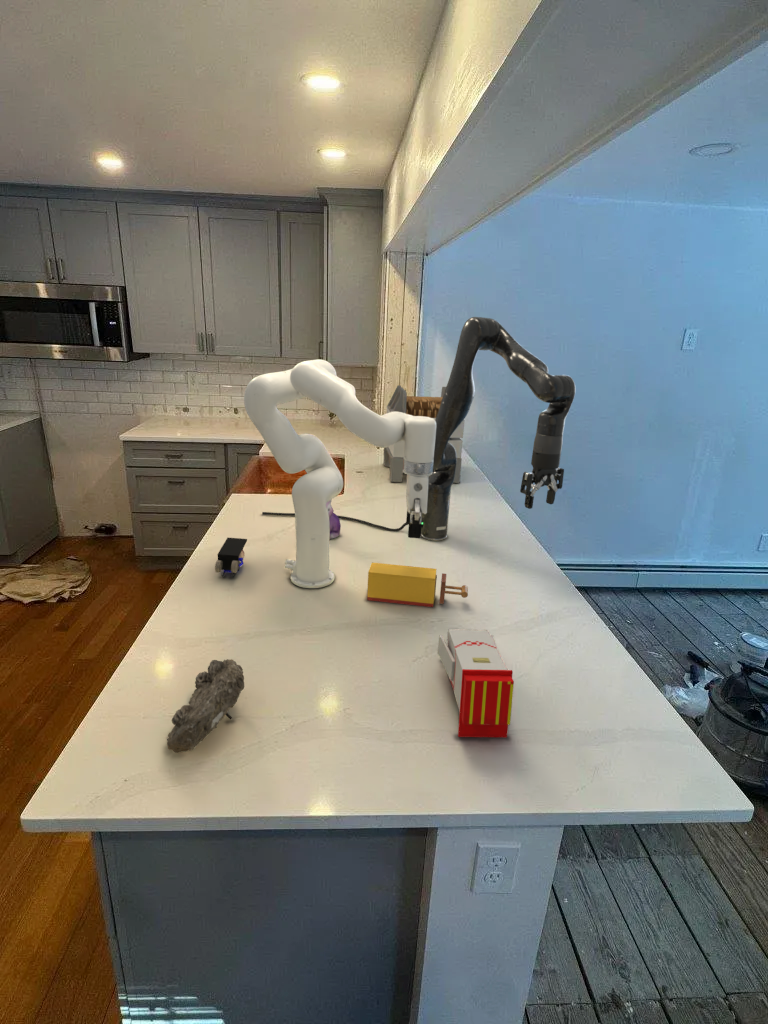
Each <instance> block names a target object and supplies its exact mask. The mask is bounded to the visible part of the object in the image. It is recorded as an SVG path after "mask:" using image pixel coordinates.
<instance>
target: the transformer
mask: <svg viewBox="0 0 768 1024" xmlns="http://www.w3.org/2000/svg"><path fill="white" fill-rule="evenodd" d="M445 389H446V386H442V387H441V392H440V393H441V394H440V396H415V395H414V396H413V395H412V396H411V395H407V394H408V393H407V390H406V389H404V388H403V387H402V385H399V384H398V385H397V386H396V388H395V390H394V392H393V394H392V395H391V398H390V400H389V402H388V404H387V405H386V413H385V414H387V413H390V412H394V411H396V412H402V413H405V414H409V415H412V416H425V417H430V418H433V419H434V420H435V419H436V416H437V414H438V411H439V408H440V405H441V401H442V398H443V395H444V392H445ZM464 429H465V419H464V420H463V421H462V423H461V424H460V425H459V426H458V427H457V429H456V430H455V431H454V432H453V434H452V435H451V437H450V439H449V441H448V443H450V444H452V445H453V447H454V448H455V450H456V455H457V462H456V470H455V477H454V482H453V484H455V483H456V484H459V483H461V472H462V461H463V460H462V453H463V442H464V441H463V440H462V439H463V438H464V431H465V430H464ZM404 443H405V441H400V442H397V443H395V444H393V445H391V446H389V447H385V448H383V466H384V467H388V468H389V475H388V476H389V477H388V478H389V480H390V482H391V483H402V482H403V475H404V473H403V459H404Z"/></svg>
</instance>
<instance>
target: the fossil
mask: <svg viewBox="0 0 768 1024" xmlns="http://www.w3.org/2000/svg"><path fill="white" fill-rule="evenodd" d="M243 670H244V669H243V667H242V665H240V664H237V662H236V661H235V660H234V659H232V658H231V659H227V658H226V659H224V660H223V661H222V660H217V659H212V660H211V661H210V663H209V665H208V666H207V671H201V672H199V673H198V674H197V675H196V676H195V680H194V684H195V685H194V687H195V689H194V690H193V693H192V694H191V697H190V698H189V700H188V704H184V705H182V706H181V707H180V709H177V710H176V711H175V713H174V715H173V716H172V718H171V723H172V724H173V727H172V730H171V731H170V732H168V734H167V738H166V741H167V742H166V745H167V749H168V750H169V751H173V752H174V753H176V754H178V753H182V752H188V751H189V752H192V751H193V750H195V748H196V747H197V746H199V744H200V743H201V742H203V741H204V740H205V739H206V738H207V737H208V736H209V735H210V734H211V733H212V732H214V730H215V729H217V727H218V726H219V724H220V722H221V721H222V720H223V719H224V718H225V716H226V717H227V719H229V720H233V717H232V715H230V714H229V710H230V709H231V708H234V706H235V704H236V703H237V702H238V699H239V697H240V695H241V693H242V691H243V690H245V689H244V688H245V675H244V671H243Z"/></svg>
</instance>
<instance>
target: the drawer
mask: <svg viewBox="0 0 768 1024" xmlns="http://www.w3.org/2000/svg"><path fill="white" fill-rule="evenodd" d="M437 577H438V574H436V579H435V590H434V602H435V600H436V590H437ZM446 589H449V590H446ZM453 590H458V591H453ZM439 591H440V592H439V604H440V605H444V604H445V597H446V596H445V595H455V596H456V595H457V596H461V597H462V598H463V599H464V598H467V597H468V596H469V587H468V586H467V585H465V584H464V585H461V586H454V585H447V573H441V581H440V590H439Z"/></svg>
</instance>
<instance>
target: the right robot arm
mask: <svg viewBox="0 0 768 1024" xmlns="http://www.w3.org/2000/svg"><path fill="white" fill-rule="evenodd" d="M479 351H490V352H493V353H494V354H497V355H499V356H500V357H501V358H503V360H504V361H505V363H506V365H507V367H508V369H509V370H510V371H511V372H512V373H513V375H515V376H516V377H517V378H518V379H520V380H521V381H522V382H524V383H525V384H526V385H527V386H528V388H529V389H530V390H531V393H533V395H534V396H535V397H536V398H537V399H538V400H540V401H541V402H544V403H546V404H548V407H547V408H546V409H545V410H543V411H541V412H540V413H539V414H538V419H537V424H536V432H535V437H534V440H533V447H532V452H531V453H532V455H531V463H530V464H531V466H532V471H531V472H527V471H524V472H522V478H521V484H520V489H519V490H520V491H519V492H520V493H521V494H523V495H525V497H524V507H525V508H526V509H529V510H531V509H533V506H534V499H535V494H536V492H537V491H539V490H540V489H541V487H545V486H546V487H547V493H546V498H545V503H546V504H548V505H553V504H554V503H555V499H556V493H557V492H558V490H561V489H562V488H563V482H564V475H565V468H562V467H560V463H561V457H562V450H563V443H564V441H563V439H564V430H565V426H566V425H565V424H566V419H567V417H568V414H569V412H570V409H571V407H572V404H573V403H574V399H575V396H576V390H577V389H576V388H577V387H576V383H575V381H574V378H572V376H570V375H567V374H550V373H549V367H548V365H547V364H546V363H545V362H544V361H543V360H541V359H539V357H537V356H536V355H534V354H533V353H532V352H530V351H528V350H527V349H526V348H525V347H523V346H522V345H521V344H520V343H519V342H518V341H517V340H516V339H515V338H514V337H513V336H512V335H511V334H510V333H509V332H508V331H507V330H506V329H505V327H504V326H503V325H502V324H501V323H500V322H499V321H498V320H496V319H494V318H490V317H482V316H472V317H470V318H467V320H466V321H465V322H464V324H463V326H462V329H461V331H460V335H459V339H458V343H457V348H456V353H455V357H454V362H453V365H452V368H451V371H450V375H449V378H448V381H447V383H446V386H445V387H446V389H445V392H444V395H443V398H442V401H441V405H440V408H439V411H438V414H437V416H436V419H435V421H436V438H435V450H434V462H433V473H432V475H430V476H428V501H427V513H426V514H424V513H421V523H422V528H421V539H424V540H426V541H432V542H440V541H444V540H446V539H447V538H448V525H449V517H450V516H449V514H450V504H451V494H452V493H451V491H452V486H453V484H454V483H453V482H454V477H455V470H456V462H457V455H456V450H455V448H454V447H453V445H452V444H450V443H448V441H449V439H450V437H451V435H452V434H453V432H454V431H455V430H456V429H457V427H458V426H459V425H460V424H461V423H462V421H463V420H465V419H466V417H467V415H468V414H469V411H470V409H471V407H472V404H473V401H474V397H475V394H476V388H475V381H474V375H473V368H474V363H475V360H476V358H477V354H478V352H479ZM261 515H262V516H263V515H264V516H282V517H284V516H285V517H295V512H271V511H270V512H269V511H262V513H261ZM336 515H337V516H338V518H339V519H340V520H341V519H342V520H347V521H353V522H357V523H360V524H364V525H367V526H370V527H373V528H378V529H381V530H385V531H388V532H389V531H390V532H400V531H402V530H404V528H405V527H407V526H409V524H407V523H406V522H405V523H403V524H402V525H401V526H400V527H398V528H391V527H386V526H384V525H379V524H376V523H373V522H370V521H365V520H364V519H363V520H362V519H358V518H355V517H349V516H344V515H338V514H336Z"/></svg>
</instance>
